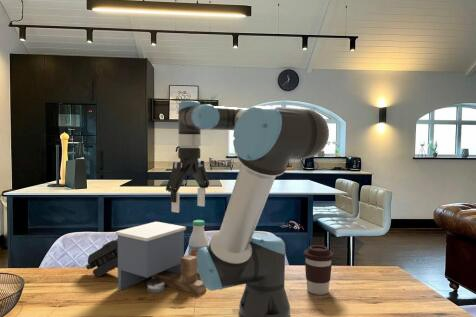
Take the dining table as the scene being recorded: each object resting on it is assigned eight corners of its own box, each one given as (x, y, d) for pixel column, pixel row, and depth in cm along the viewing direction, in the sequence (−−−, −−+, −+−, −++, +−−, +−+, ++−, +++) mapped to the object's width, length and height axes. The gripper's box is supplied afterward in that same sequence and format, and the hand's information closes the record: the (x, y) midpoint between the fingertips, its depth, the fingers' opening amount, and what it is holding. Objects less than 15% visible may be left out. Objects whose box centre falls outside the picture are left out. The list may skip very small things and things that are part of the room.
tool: (136, 273, 129) (118, 236, 130) (95, 295, 133) (77, 259, 134) (144, 267, 135) (126, 232, 136) (105, 288, 139) (87, 254, 140)
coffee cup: (308, 283, 130) (309, 242, 129) (336, 289, 125) (337, 246, 124) (298, 292, 121) (299, 249, 121) (327, 299, 116) (328, 254, 115)
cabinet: (185, 280, 130) (185, 226, 130) (146, 299, 114) (146, 238, 113) (156, 272, 138) (156, 221, 138) (115, 289, 122) (115, 231, 121)
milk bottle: (186, 269, 142) (186, 219, 142) (204, 266, 146) (204, 218, 145) (191, 275, 135) (192, 223, 135) (210, 272, 139) (211, 222, 138)
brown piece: (206, 290, 122) (206, 259, 122) (198, 294, 119) (199, 262, 118) (159, 277, 134) (159, 248, 133) (151, 280, 130) (151, 251, 130)
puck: (168, 289, 123) (168, 281, 123) (155, 295, 118) (155, 286, 118) (155, 285, 127) (155, 277, 127) (143, 290, 122) (143, 282, 121)
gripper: (203, 146, 134) (202, 202, 135) (154, 147, 113) (154, 213, 114) (219, 147, 130) (218, 204, 131) (172, 147, 109) (172, 216, 110)
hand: (188, 208), depth 123 cm, fingers open, 13 cm apart
